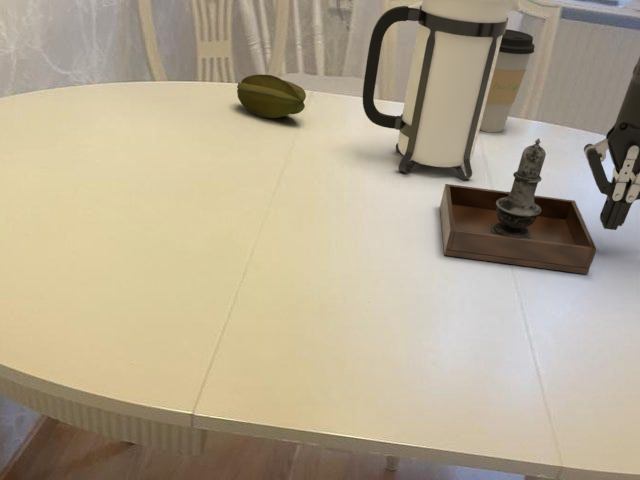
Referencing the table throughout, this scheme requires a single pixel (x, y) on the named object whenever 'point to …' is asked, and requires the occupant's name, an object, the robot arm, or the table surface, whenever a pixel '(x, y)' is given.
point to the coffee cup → (506, 78)
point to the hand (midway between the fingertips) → (609, 227)
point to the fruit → (270, 96)
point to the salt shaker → (521, 196)
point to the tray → (539, 251)
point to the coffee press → (442, 79)
